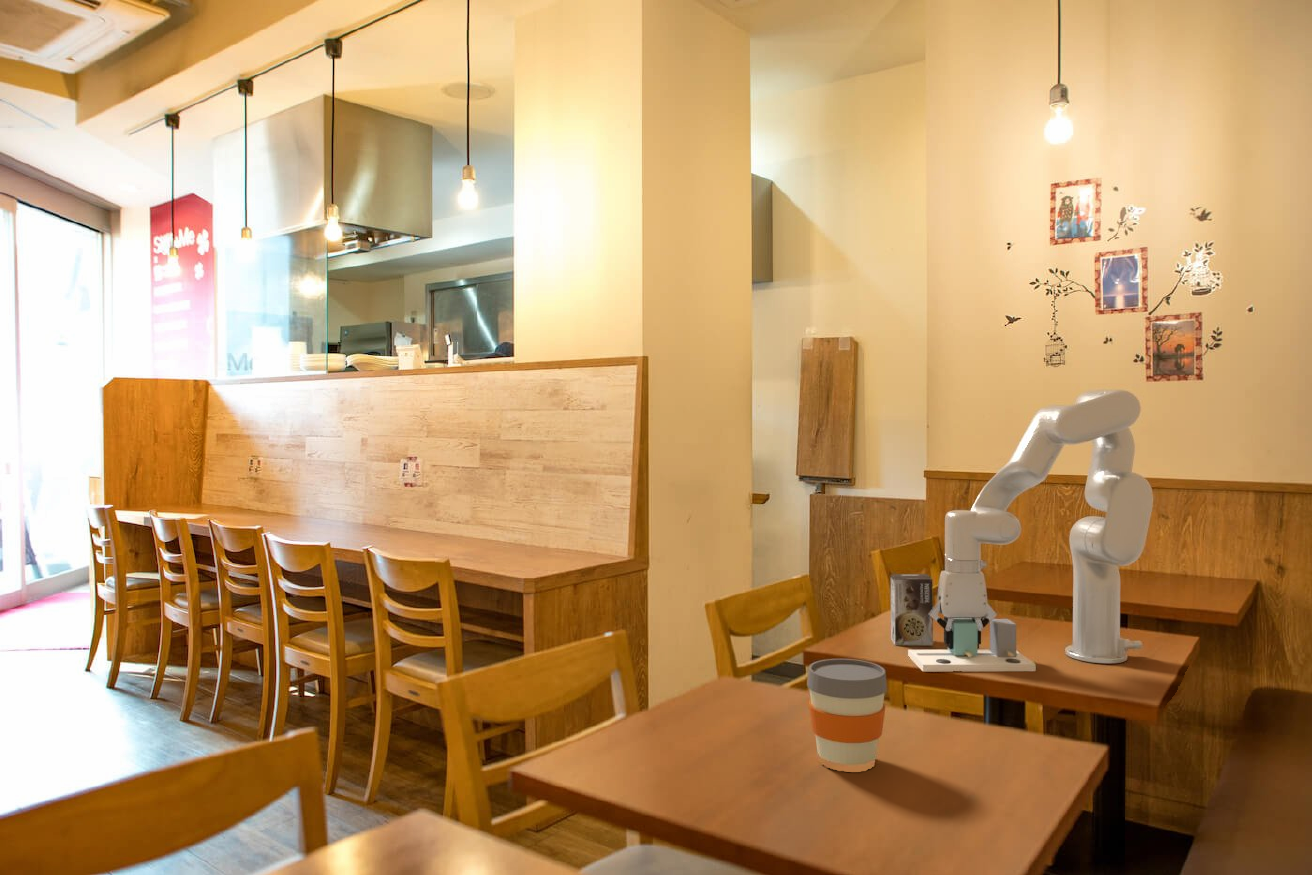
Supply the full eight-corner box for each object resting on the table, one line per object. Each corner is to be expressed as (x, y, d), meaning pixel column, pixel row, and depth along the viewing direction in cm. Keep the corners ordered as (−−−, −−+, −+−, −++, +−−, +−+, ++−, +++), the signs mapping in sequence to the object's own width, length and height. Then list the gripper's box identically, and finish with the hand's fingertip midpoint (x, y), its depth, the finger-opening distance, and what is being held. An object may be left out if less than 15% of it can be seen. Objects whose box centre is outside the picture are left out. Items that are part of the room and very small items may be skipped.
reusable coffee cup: (792, 753, 149) (792, 662, 148) (858, 742, 153) (858, 654, 153) (833, 782, 137) (833, 684, 136) (903, 770, 141) (903, 675, 141)
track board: (1014, 655, 205) (1014, 617, 205) (1035, 671, 193) (1035, 630, 193) (908, 656, 206) (908, 617, 205) (922, 671, 194) (923, 630, 193)
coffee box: (928, 639, 220) (928, 573, 220) (933, 646, 214) (933, 578, 213) (890, 638, 221) (890, 573, 221) (894, 645, 215) (894, 578, 214)
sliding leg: (969, 648, 204) (969, 618, 204) (981, 658, 196) (981, 626, 196) (947, 649, 204) (947, 618, 204) (958, 658, 196) (958, 626, 196)
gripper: (995, 563, 204) (994, 642, 205) (919, 563, 205) (919, 643, 205) (1007, 569, 197) (1007, 651, 198) (928, 569, 197) (928, 652, 198)
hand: (962, 646), depth 201 cm, fingers closed on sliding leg, 5 cm apart
